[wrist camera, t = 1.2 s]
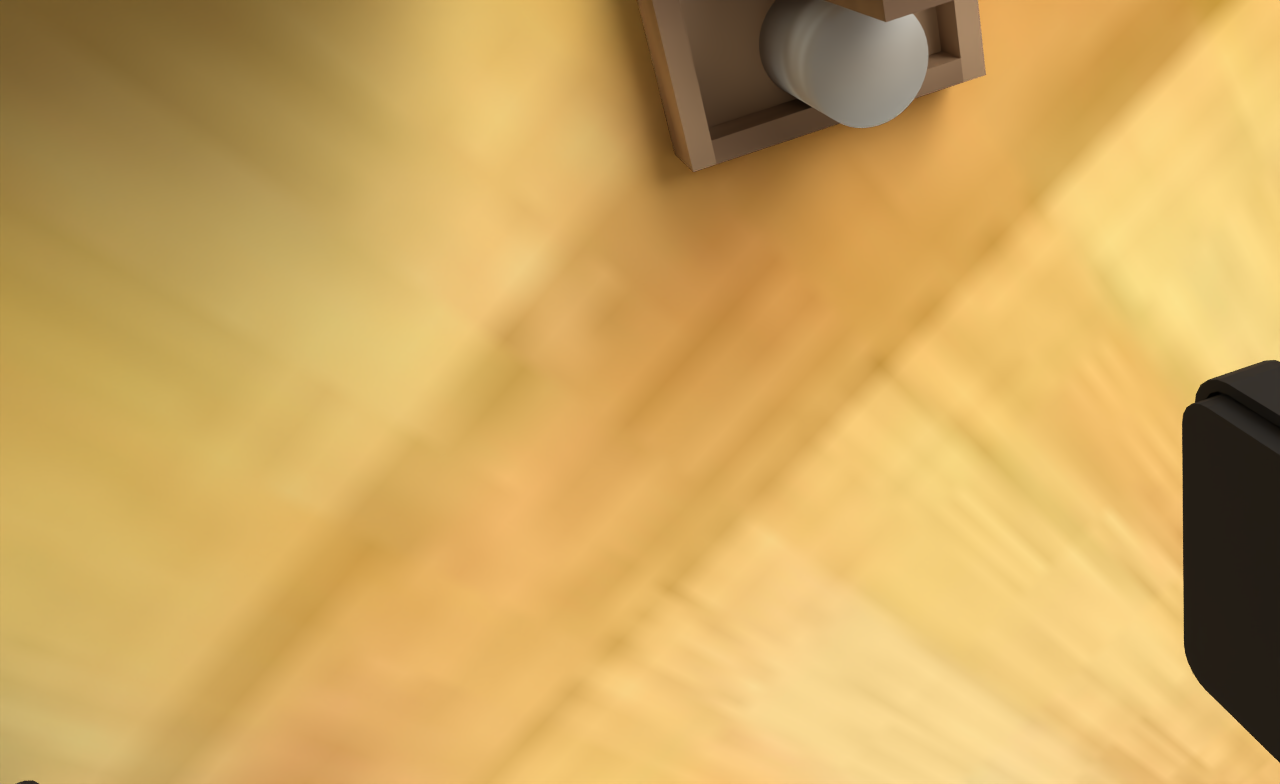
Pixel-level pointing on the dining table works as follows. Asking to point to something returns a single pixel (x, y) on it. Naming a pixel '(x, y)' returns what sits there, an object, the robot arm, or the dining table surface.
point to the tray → (737, 88)
